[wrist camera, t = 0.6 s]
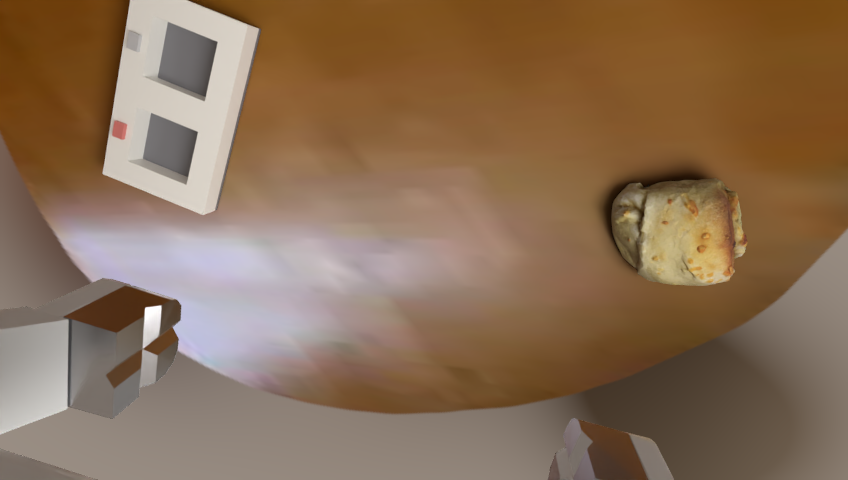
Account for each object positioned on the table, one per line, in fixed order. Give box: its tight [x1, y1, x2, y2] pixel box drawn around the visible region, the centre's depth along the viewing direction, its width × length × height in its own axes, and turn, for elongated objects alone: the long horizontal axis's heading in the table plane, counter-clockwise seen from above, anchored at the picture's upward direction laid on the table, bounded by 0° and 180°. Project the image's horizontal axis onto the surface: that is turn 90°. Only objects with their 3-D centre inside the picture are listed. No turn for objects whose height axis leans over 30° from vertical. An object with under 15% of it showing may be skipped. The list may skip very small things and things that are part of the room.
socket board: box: [103, 0, 261, 215], centre depth 53 cm, size 22×13×4 cm, turn 159°
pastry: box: [611, 178, 747, 286], centre depth 48 cm, size 14×12×8 cm
